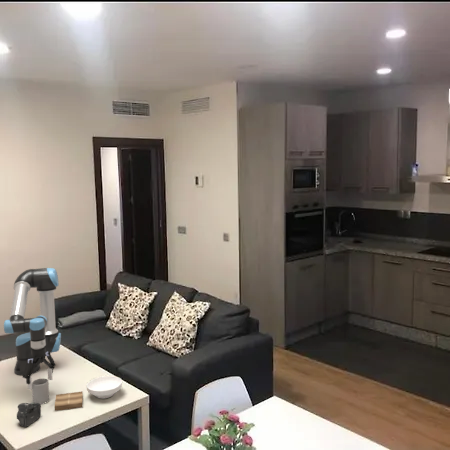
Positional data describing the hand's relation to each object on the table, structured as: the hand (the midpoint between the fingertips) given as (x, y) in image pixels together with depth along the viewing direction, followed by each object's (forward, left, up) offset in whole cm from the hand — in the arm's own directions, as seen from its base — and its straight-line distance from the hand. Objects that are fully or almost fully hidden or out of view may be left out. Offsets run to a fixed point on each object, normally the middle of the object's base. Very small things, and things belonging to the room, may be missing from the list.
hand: (40, 384), depth 265 cm
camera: (+23, -4, -9) cm, 25 cm away
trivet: (+9, +15, -9) cm, 20 cm away
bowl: (+5, +34, -9) cm, 36 cm away
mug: (0, 0, -9) cm, 9 cm away
